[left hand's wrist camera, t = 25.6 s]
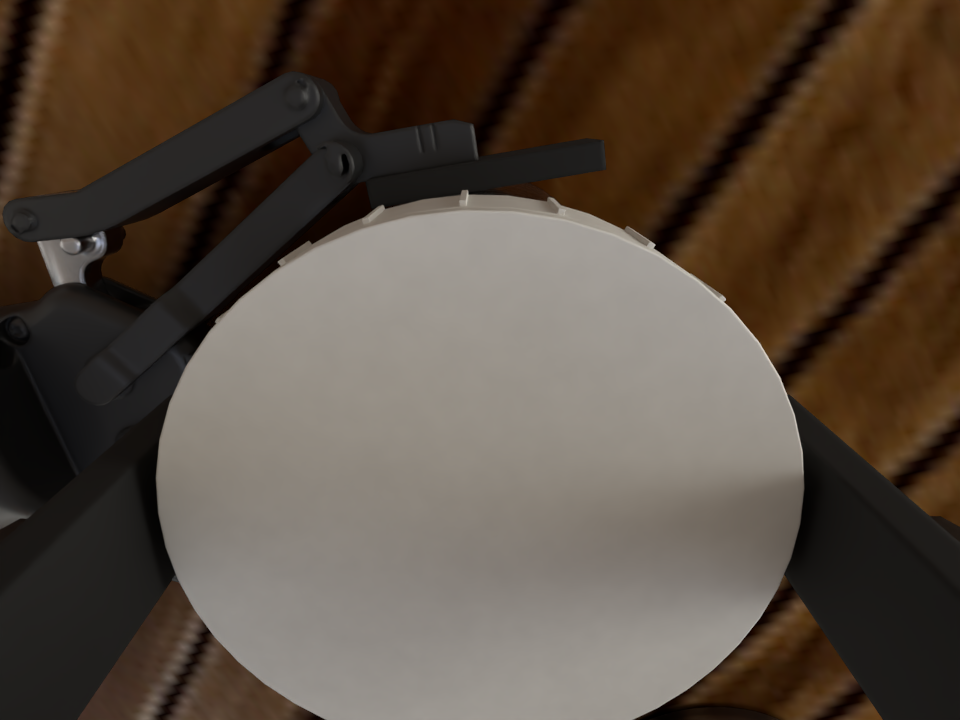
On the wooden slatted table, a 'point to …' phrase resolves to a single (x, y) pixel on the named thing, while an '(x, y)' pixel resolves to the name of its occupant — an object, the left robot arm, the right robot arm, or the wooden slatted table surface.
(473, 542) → the lid
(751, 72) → the wooden slatted table surface
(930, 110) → the wooden slatted table surface
